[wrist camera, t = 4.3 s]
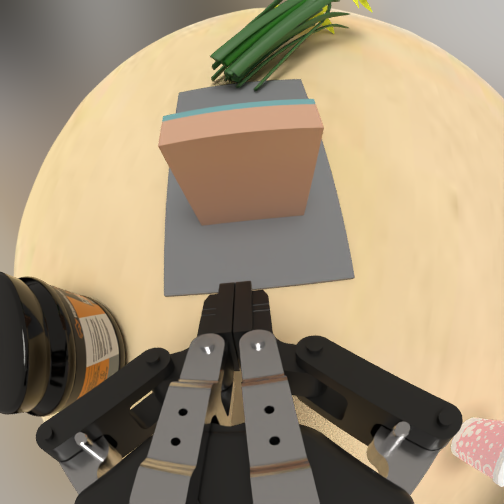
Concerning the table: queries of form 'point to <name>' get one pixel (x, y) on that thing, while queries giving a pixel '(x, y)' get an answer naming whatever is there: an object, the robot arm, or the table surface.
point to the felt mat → (254, 222)
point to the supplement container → (52, 346)
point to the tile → (244, 158)
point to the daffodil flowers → (272, 37)
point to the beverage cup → (482, 446)
